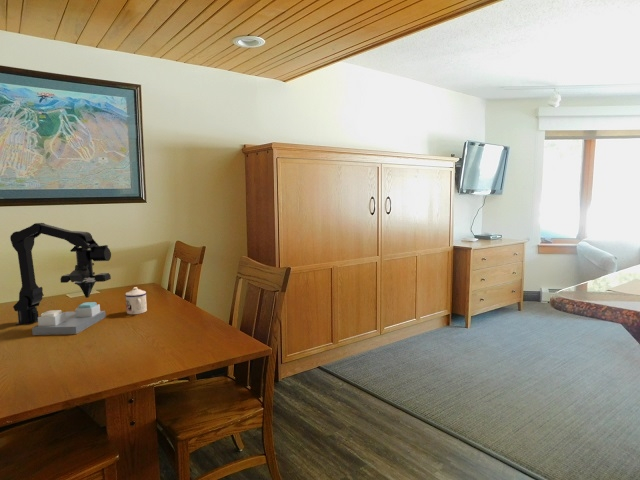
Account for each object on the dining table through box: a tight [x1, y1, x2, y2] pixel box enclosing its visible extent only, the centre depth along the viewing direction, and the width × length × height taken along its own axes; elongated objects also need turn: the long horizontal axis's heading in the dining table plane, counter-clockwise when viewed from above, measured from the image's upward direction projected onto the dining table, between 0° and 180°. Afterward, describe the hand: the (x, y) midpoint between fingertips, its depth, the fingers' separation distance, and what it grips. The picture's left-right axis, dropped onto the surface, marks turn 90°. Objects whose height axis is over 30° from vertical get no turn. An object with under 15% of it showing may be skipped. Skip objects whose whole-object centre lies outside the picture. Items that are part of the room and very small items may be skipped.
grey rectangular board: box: [31, 303, 107, 336], centre depth 175 cm, size 17×23×6 cm
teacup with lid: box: [124, 286, 148, 315], centre depth 192 cm, size 12×9×12 cm
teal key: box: [78, 301, 97, 308], centre depth 180 cm, size 5×5×3 cm
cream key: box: [40, 309, 63, 317], centre depth 168 cm, size 5×5×3 cm
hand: (87, 297), depth 180 cm, fingers closed
